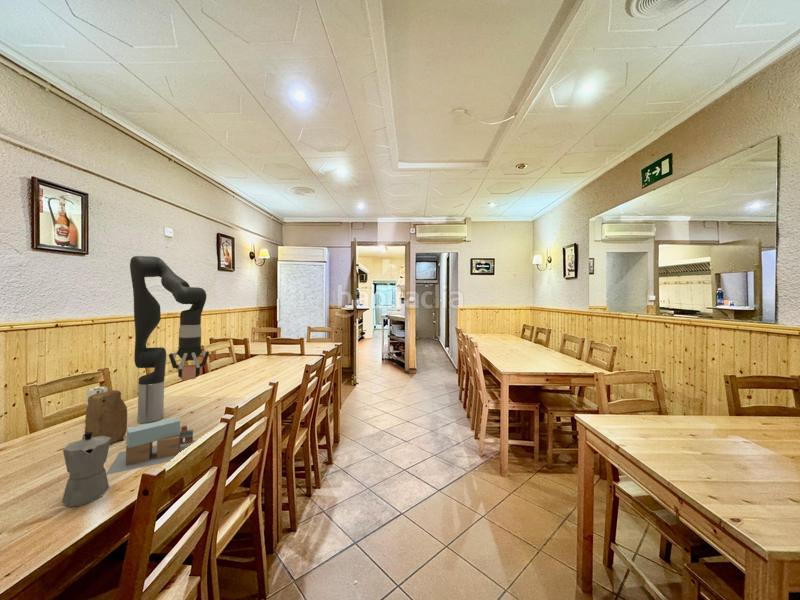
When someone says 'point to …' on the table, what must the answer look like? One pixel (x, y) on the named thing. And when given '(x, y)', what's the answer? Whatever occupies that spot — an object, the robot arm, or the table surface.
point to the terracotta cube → (188, 372)
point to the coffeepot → (86, 470)
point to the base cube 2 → (168, 446)
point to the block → (106, 416)
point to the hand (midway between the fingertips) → (189, 377)
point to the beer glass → (95, 392)
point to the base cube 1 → (138, 453)
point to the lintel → (152, 432)
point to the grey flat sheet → (121, 465)
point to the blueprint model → (186, 436)
